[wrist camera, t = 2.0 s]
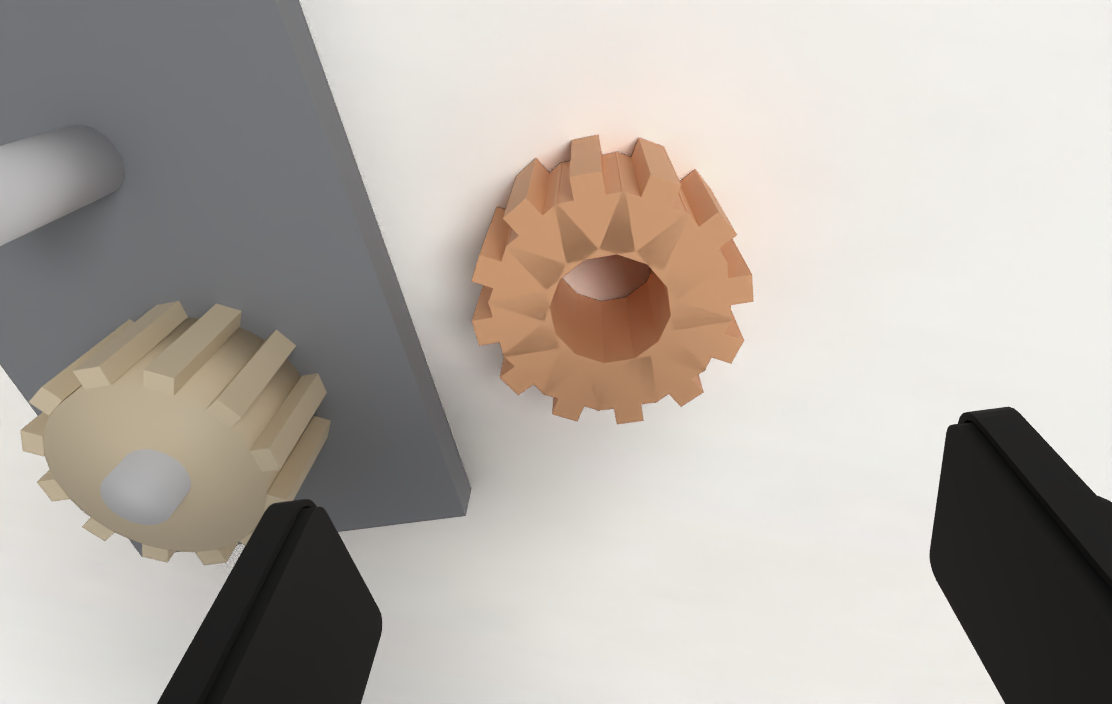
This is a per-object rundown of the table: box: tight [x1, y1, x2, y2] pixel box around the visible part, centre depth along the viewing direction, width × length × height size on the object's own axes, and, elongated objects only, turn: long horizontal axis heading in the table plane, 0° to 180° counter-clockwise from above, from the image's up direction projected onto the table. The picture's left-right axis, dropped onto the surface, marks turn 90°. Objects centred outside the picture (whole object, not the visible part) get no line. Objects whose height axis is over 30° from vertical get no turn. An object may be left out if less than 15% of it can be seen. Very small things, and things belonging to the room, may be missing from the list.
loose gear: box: [472, 135, 753, 424], centre depth 19 cm, size 8×8×4 cm
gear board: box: [0, 0, 471, 565], centre depth 19 cm, size 22×14×6 cm, turn 12°
